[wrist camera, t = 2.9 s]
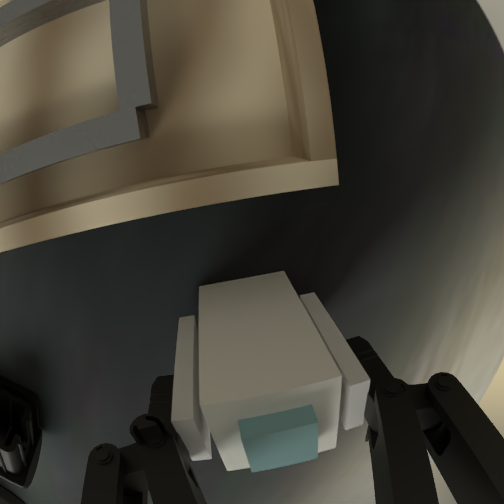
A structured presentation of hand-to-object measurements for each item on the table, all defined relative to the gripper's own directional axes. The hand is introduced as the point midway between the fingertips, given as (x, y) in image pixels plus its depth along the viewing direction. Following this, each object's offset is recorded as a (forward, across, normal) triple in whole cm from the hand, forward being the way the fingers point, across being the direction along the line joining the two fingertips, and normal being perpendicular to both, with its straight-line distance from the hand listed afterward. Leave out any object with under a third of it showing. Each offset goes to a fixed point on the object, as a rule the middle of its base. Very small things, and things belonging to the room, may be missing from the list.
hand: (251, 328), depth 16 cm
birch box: (+1, -8, +15) cm, 17 cm away
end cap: (+2, -22, -5) cm, 23 cm away
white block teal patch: (+1, 0, 0) cm, 1 cm away
